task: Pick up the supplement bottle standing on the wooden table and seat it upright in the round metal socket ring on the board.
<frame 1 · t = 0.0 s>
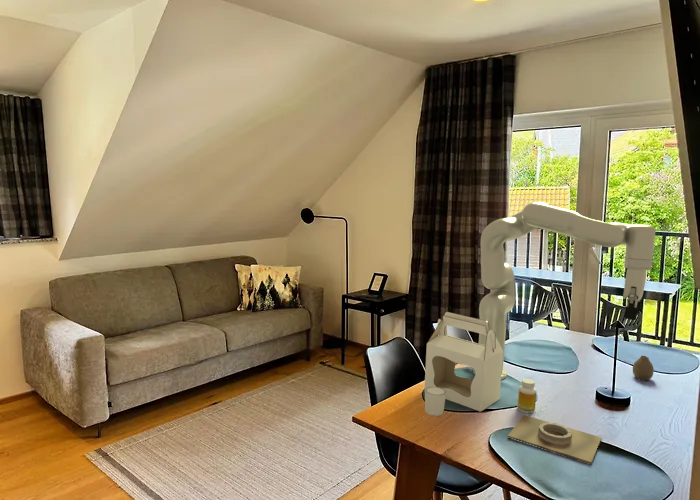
hand: (632, 315, 160), 31 cm above the table, tool pointing down, fingers open, 9 cm apart
socket board: (554, 439, 143), on the table
white cup: (434, 412, 158), on the table
supplement bottle: (525, 410, 161), on the table
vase: (641, 379, 190), on the table
gable box: (461, 395, 170), on the table
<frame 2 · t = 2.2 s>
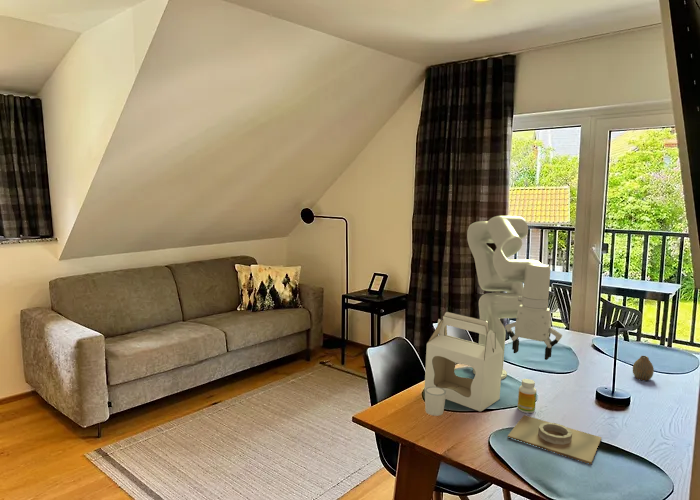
hand: (531, 355, 158), 18 cm above the table, tool pointing down, fingers open, 9 cm apart
nothing on the table moved.
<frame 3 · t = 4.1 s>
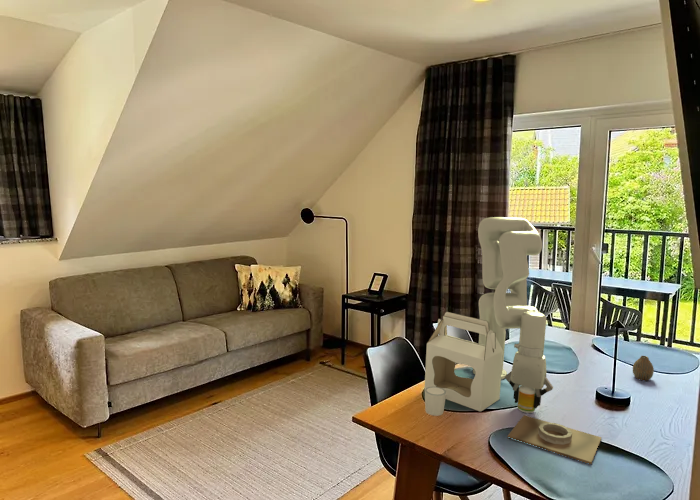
hand: (526, 403, 161), 2 cm above the table, tool pointing down, fingers closed on supplement bottle, 5 cm apart
supplement bottle: (526, 410, 161), on the table, touching gripper
everything else where it was.
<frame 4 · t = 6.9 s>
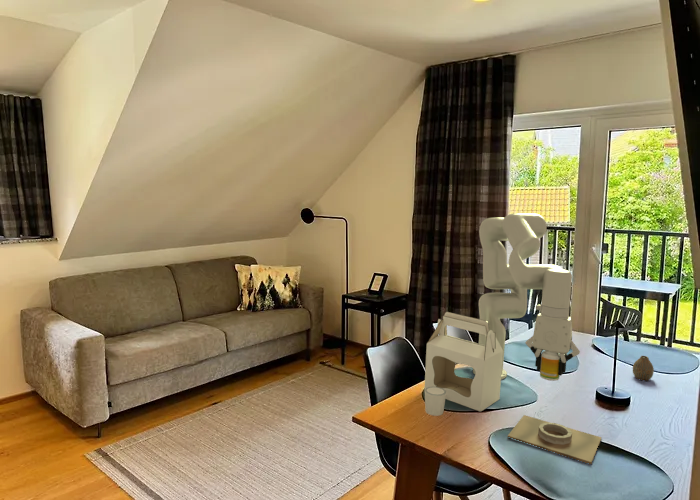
hand: (550, 371, 146), 18 cm above the table, tool pointing down, fingers closed on supplement bottle, 5 cm apart
supplement bottle: (549, 378, 146), point 16 cm above the table, touching gripper
everything else where it was.
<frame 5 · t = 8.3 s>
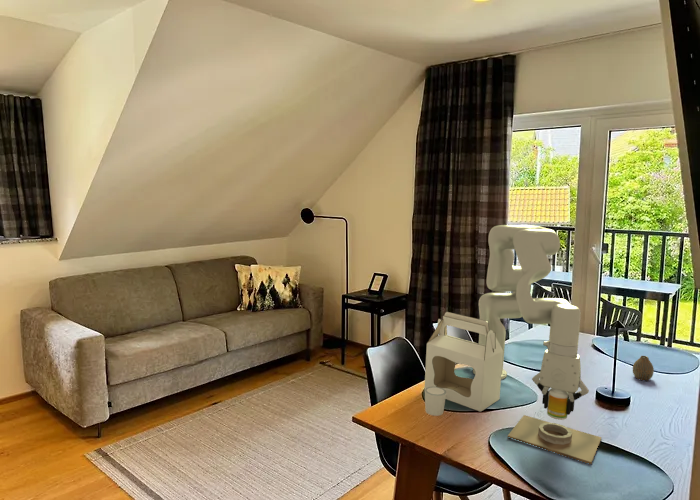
hand: (557, 409, 141), 9 cm above the table, tool pointing down, fingers closed on supplement bottle, 5 cm apart
supplement bottle: (556, 416, 142), point 7 cm above the table, touching gripper
everything else where it was.
when the fingers open (4 cm above the table, at t = 9.6 s): supplement bottle drops 1 cm, resting on socket board.
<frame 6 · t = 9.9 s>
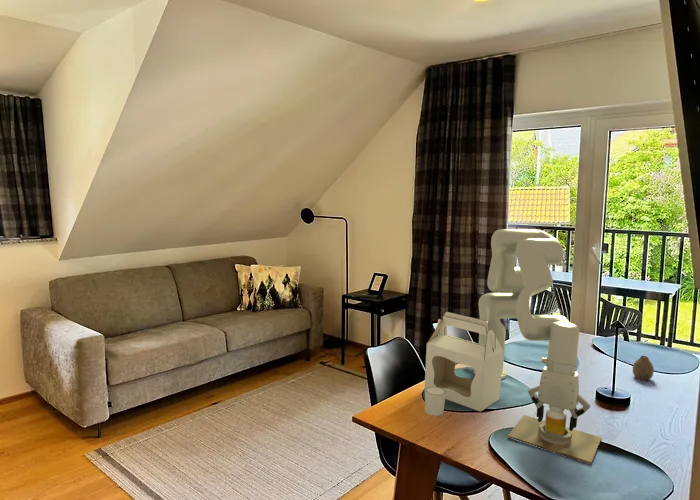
hand: (555, 424, 142), 5 cm above the table, tool pointing down, fingers open, 8 cm apart
supplement bottle: (554, 436, 143), point 1 cm above the table, touching socket board
everything else where it was.
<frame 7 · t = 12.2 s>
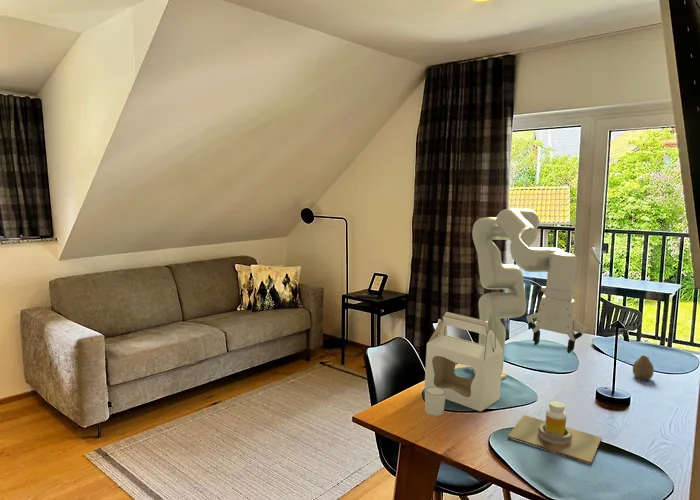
hand: (552, 347, 152), 23 cm above the table, tool pointing down, fingers open, 9 cm apart
nothing on the table moved.
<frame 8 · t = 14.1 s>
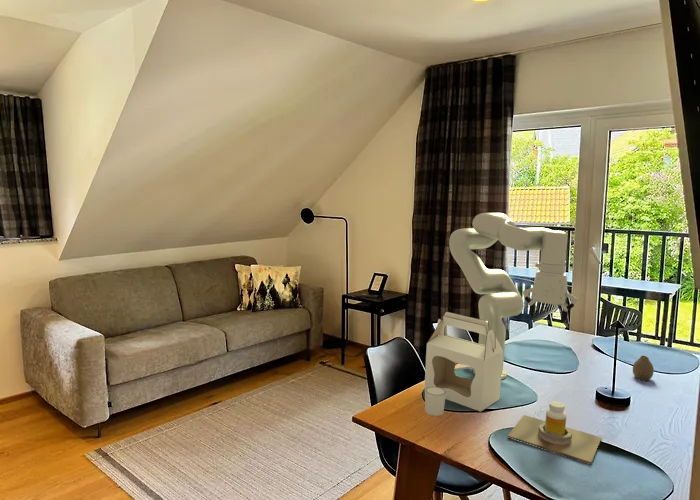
hand: (547, 319, 164), 28 cm above the table, tool pointing down, fingers open, 9 cm apart
nothing on the table moved.
at the end: supplement bottle 0.2 cm from the socket board (horizontally); supplement bottle tilted 0°; the gripper is holding nothing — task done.
